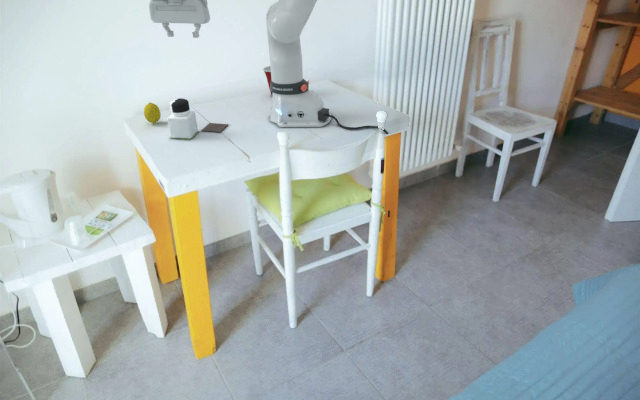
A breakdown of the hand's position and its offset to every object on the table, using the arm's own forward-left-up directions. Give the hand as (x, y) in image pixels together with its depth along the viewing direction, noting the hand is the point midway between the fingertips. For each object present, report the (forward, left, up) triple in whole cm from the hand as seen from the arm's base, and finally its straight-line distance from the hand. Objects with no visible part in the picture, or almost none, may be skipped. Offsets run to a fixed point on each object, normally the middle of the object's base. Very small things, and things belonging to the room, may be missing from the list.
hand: (183, 37), depth 157 cm
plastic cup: (-22, -30, -29) cm, 47 cm away
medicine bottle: (-3, +16, -29) cm, 33 cm away
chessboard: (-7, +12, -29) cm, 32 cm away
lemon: (+13, +8, -29) cm, 33 cm away
